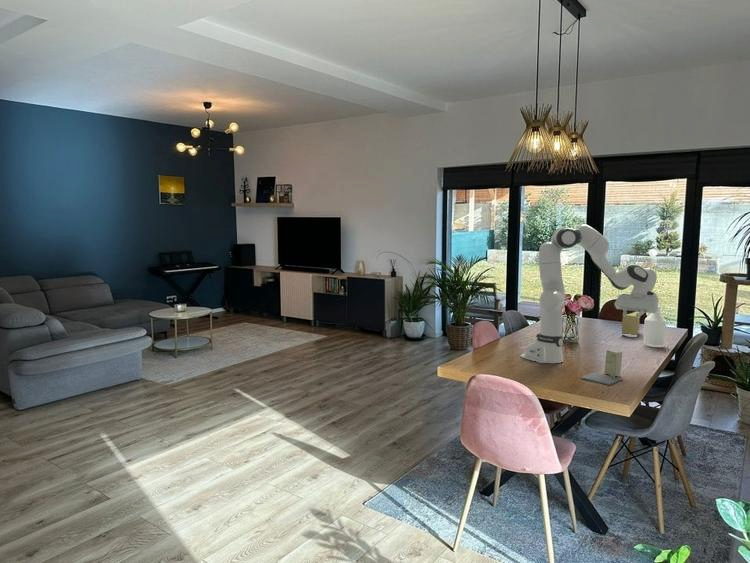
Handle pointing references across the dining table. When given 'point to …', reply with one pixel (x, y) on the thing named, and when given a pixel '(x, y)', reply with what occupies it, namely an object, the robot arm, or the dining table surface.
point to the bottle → (655, 328)
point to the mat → (601, 378)
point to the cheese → (630, 324)
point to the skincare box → (613, 362)
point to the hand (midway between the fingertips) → (630, 316)
